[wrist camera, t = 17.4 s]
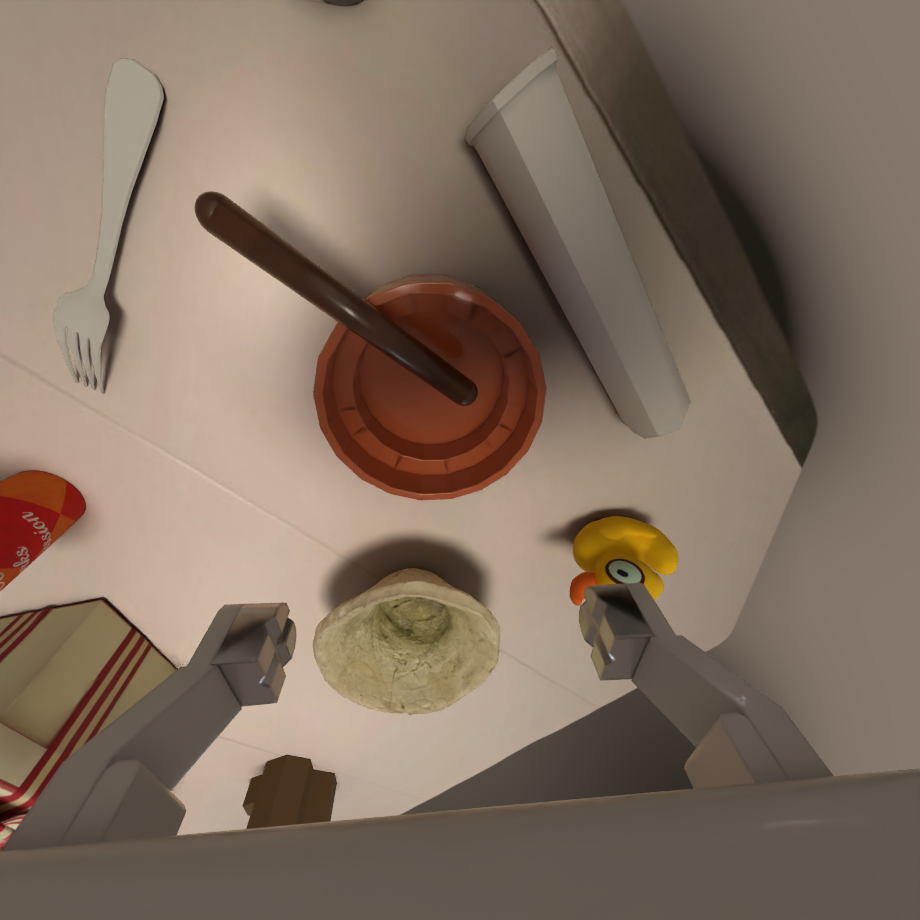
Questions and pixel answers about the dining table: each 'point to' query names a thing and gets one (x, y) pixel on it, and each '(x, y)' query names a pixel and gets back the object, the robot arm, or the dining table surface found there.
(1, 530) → the paper cup
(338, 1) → the crock
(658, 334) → the tube
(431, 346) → the orange round shallow dish
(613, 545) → the duckling
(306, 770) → the candle
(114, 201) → the fork
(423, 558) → the dining table surface
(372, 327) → the stirring stick
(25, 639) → the gift box
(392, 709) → the bowl
